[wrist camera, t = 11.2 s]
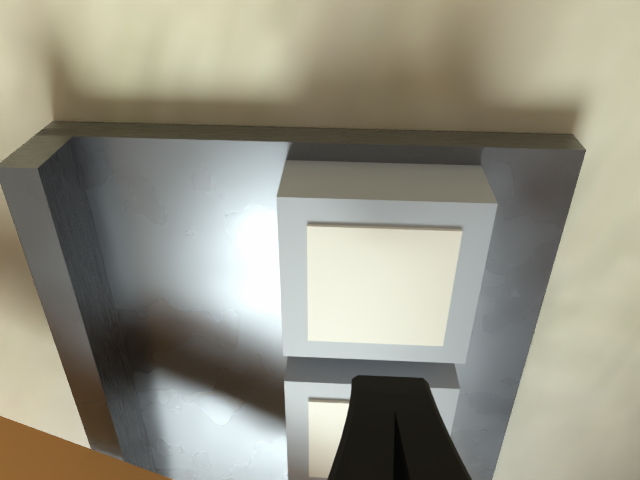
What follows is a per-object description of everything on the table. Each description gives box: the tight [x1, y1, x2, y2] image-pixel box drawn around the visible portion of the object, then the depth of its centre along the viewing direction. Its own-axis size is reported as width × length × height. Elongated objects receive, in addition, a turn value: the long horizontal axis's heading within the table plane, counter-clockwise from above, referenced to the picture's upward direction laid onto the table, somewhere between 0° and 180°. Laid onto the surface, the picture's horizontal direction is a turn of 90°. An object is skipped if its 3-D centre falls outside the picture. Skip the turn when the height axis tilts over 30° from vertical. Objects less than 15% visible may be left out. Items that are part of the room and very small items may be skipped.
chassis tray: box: [0, 121, 586, 480], centre depth 18 cm, size 14×17×4 cm
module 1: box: [276, 160, 498, 364], centre depth 15 cm, size 5×5×2 cm
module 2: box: [284, 356, 460, 480], centre depth 18 cm, size 5×5×2 cm
